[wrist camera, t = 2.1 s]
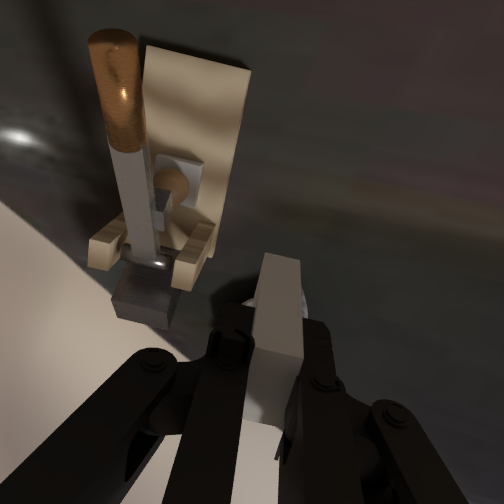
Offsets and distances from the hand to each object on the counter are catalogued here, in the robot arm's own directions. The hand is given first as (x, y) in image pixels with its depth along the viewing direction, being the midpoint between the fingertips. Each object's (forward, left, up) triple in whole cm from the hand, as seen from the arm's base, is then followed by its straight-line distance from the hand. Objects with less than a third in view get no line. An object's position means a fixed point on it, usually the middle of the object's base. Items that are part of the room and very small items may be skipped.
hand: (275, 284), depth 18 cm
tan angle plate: (+3, -11, -32) cm, 34 cm away
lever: (+4, -11, -20) cm, 24 cm away
